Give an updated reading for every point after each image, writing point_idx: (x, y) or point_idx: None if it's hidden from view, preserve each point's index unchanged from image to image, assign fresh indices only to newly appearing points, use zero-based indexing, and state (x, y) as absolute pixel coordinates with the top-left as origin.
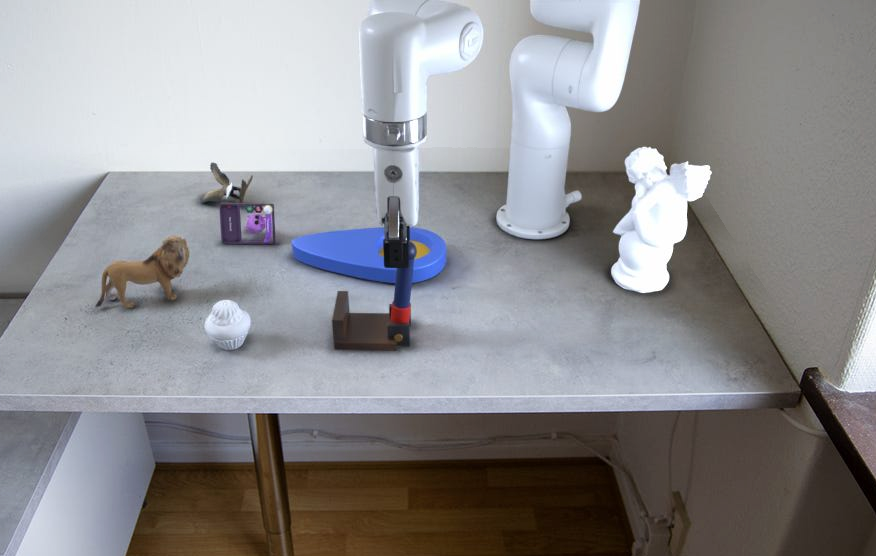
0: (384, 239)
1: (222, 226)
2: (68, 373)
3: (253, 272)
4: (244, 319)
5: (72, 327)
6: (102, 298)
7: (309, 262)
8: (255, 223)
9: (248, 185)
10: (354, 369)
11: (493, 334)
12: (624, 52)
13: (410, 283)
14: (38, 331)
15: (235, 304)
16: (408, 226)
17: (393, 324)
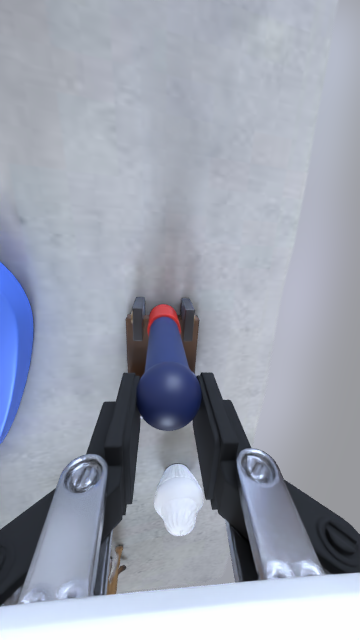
0: (215, 507)
1: None
2: (210, 549)
3: (38, 481)
4: (183, 494)
5: (151, 565)
6: (119, 572)
7: (4, 437)
8: None
9: None
10: (229, 360)
11: (161, 154)
12: None
13: (176, 336)
14: (157, 578)
15: (178, 520)
16: (112, 450)
17: (189, 333)
